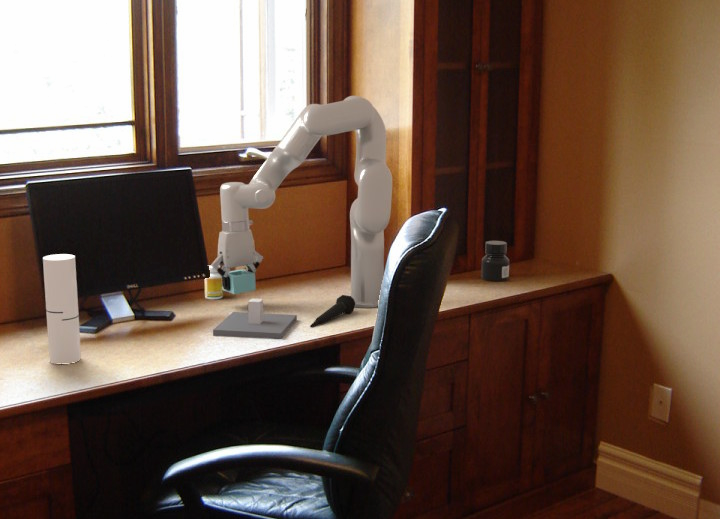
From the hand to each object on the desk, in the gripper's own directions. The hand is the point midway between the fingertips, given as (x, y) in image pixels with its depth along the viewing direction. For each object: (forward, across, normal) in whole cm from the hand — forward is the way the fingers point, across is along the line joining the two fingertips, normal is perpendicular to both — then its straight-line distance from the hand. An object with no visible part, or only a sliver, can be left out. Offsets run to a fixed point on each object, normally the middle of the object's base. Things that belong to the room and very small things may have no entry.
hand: (238, 287), depth 276 cm
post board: (+6, +6, +21) cm, 23 cm away
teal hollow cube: (+1, 0, 0) cm, 1 cm away
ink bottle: (+9, -85, +15) cm, 87 cm away
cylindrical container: (+5, +57, +19) cm, 61 cm away
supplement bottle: (+6, +1, -15) cm, 16 cm away
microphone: (+7, -15, +24) cm, 29 cm away
